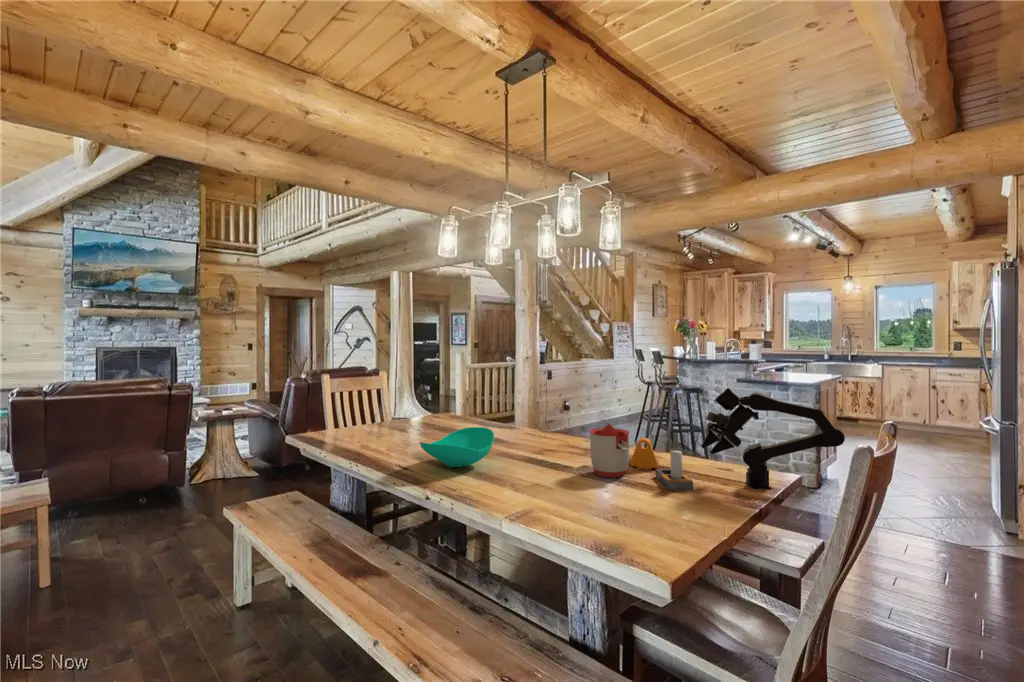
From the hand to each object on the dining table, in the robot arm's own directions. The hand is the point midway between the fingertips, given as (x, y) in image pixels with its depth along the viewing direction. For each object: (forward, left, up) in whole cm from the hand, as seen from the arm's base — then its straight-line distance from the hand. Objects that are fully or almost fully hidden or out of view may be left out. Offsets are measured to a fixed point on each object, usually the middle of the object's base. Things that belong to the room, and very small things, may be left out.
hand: (706, 450), depth 172 cm
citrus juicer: (+33, -13, -13) cm, 37 cm away
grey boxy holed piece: (+12, -2, -13) cm, 17 cm away
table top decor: (+96, -26, -13) cm, 100 cm away
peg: (+11, +2, -13) cm, 17 cm away
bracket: (+17, -25, -13) cm, 33 cm away
